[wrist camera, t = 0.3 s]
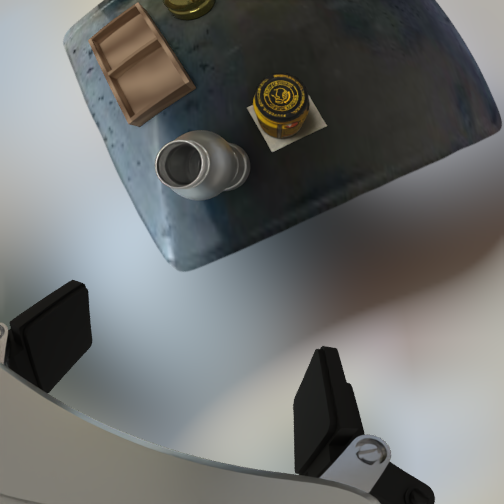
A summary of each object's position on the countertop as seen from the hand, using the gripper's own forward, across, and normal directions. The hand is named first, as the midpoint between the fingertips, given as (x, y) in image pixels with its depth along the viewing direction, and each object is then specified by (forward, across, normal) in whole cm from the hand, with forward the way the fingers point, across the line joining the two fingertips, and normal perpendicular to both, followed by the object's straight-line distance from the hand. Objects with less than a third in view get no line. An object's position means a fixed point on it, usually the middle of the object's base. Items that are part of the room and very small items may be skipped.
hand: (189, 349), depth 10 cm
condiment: (+31, -1, -15) cm, 34 cm away
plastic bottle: (+31, +5, -6) cm, 32 cm away
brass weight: (+31, +17, -33) cm, 48 cm away
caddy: (+31, +22, -21) cm, 43 cm away
